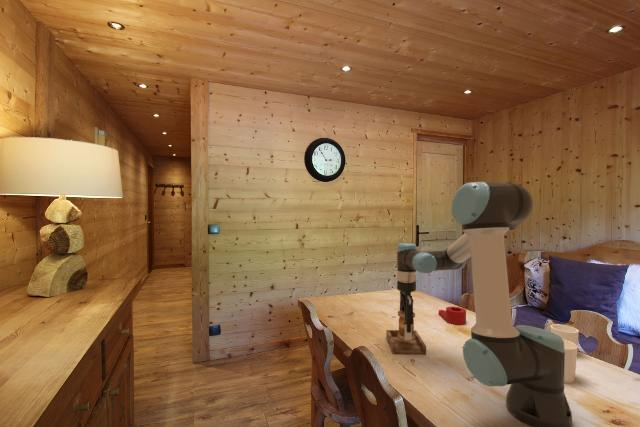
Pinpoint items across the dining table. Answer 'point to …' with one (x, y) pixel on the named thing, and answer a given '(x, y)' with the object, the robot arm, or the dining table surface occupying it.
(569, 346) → the candle holder
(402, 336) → the bobbin
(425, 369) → the dining table surface
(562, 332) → the mug
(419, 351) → the wooden tray
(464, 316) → the red watering can
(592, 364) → the dining table surface
